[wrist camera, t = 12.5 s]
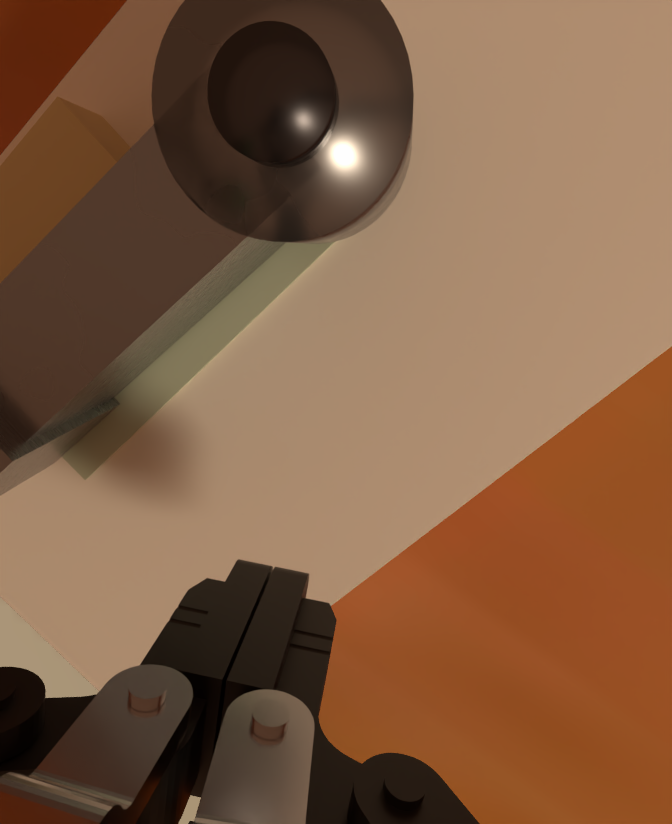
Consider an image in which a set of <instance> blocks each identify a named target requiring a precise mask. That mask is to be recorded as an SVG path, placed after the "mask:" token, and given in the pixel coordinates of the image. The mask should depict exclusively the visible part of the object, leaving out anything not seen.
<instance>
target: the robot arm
mask: <svg viewBox="0 0 672 824" xmlns="http://www.w3.org/2000/svg"><path fill="white" fill-rule="evenodd" d="M308 582H309V573H304V572H300V571H295V570H290V569H285V568H280V567H274V569H273V566H269V565H265V564H260V563H255V562H250V561H245V560H240V559H238V560H237V561H236V563H235V565H234V566H233V568H232V570H231V572H230V574H229V575H228V577H227V579H226V581H225V582H224V581H219V580H215V579H210V578H206V579H205V580H203V581H201V582H200V583H198V584H196V585H195V586H193V587H192V588H190V589H188V591H187V592H186V594H185V596H184V597H183V599H182V600H181V602H180V603H179V605H178V608H176V610H175V611H174V613H173V614H172V616H171V617H170V620H169V622H167V624H166V625H165V627H164V628H163V630H162V631H161V633H160V634H159V636H158V638H157V639H156V641H155V642H154V644H153V645H152V647H151V648H150V650H149V652H148V653H147V655H146V656H145V658H144V659H143V661H142V662H141V664H140V666H135V667H131V668H128V669H126V670H123V671H121V672H119V673H118V674H116V675H115V676H113V677H112V678H111V679H110V680H109V681H108V682H107V683H106V684H105V685H104V687H103V688H102V689H101V690H100V691H99V693H98V694H97V695H91V696H85V697H64V698H45V685H44V683H43V681H42V680H41V679H40V678H39V676H37V675H36V674H35V673H33V672H31V671H29V670H26V669H22V668H16V667H0V824H178V822H179V820H180V819H181V816H182V814H183V812H184V809H185V807H186V804H187V802H188V799H189V797H190V795H193V796H197V797H201V800H200V803H199V807H198V810H197V814H196V817H195V820H194V822H193V821H190V822H189V823H188V824H479V823H478V821H477V820H476V819H475V818H474V817H473V815H472V814H471V813H470V812H469V811H468V809H467V808H466V807H465V806H464V805H463V803H462V802H461V801H460V800H459V799H458V797H457V796H456V795H455V794H454V793H453V791H452V790H451V789H450V788H449V787H448V785H447V784H446V783H445V782H444V781H443V779H442V778H441V777H440V776H439V775H438V774H437V773H436V772H435V771H434V770H433V769H432V768H431V767H429V766H428V765H427V764H425V763H423V762H422V761H420V760H418V759H416V758H413V757H411V756H407V755H404V754H398V753H384V754H379V755H376V756H373V757H371V758H369V759H368V760H366V761H365V762H364V763H363V764H361V763H359V762H357V761H355V760H353V759H352V758H350V757H348V756H346V755H345V754H343V753H341V752H340V751H339V750H338V749H336V748H335V747H334V746H333V745H332V744H331V743H330V742H329V741H328V739H327V738H326V737H325V735H324V733H323V731H322V729H321V727H320V724H319V718H318V716H319V711H320V706H321V701H322V696H323V690H324V685H325V680H326V675H327V669H328V664H329V658H330V653H331V647H332V642H333V636H334V631H335V625H336V618H335V616H334V613H333V611H332V608H331V606H330V604H329V603H327V602H322V601H317V600H312V599H307V598H306V594H307V588H308Z"/></svg>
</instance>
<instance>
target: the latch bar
mask: <svg viewBox="0 0 672 824" xmlns="http://www.w3.org/2000/svg"><path fill="white" fill-rule="evenodd" d="M151 97H152V115H153V121H154V124H153V125H152V126H151V128H150V129H149V130H148V131H147V132H146V133H145V134H144V135H143V136H142V137H141V138H140V139H139V140H138V141H137V142H136V143H135V144H134V145H133V146H132V147H131V148H130V149H129V150H128V151H127V152H126V153H125V154H124V156H123V157H122V158H121V159H120V160H119V161H118V162H117V163H116V164H115V165H114V166H113V167H112V168H111V169H110V170H109V171H108V172H107V173H106V174H105V175H104V176H103V177H102V178H101V179H100V180H99V181H98V182H97V184H96V185H95V186H94V187H93V188H92V189H91V190H90V191H89V192H88V193H87V194H86V195H85V196H84V197H83V198H82V199H81V200H80V201H79V202H78V203H77V204H76V205H75V206H74V207H73V208H72V209H71V210H70V212H69V213H68V214H67V215H66V216H65V217H64V218H63V219H62V220H61V221H60V222H59V223H58V224H57V225H56V226H55V227H54V228H53V229H52V230H51V231H50V232H49V233H48V234H47V235H46V236H45V237H44V238H43V240H42V241H41V242H40V243H39V244H38V245H37V246H36V247H35V248H34V249H33V250H32V251H31V252H30V253H29V254H28V255H27V256H26V257H25V258H24V259H23V260H22V261H21V262H20V263H19V264H18V265H17V266H16V268H15V269H14V270H13V271H12V272H11V273H10V274H9V275H8V276H7V277H6V278H5V279H4V280H3V281H2V282H1V283H0V496H1V495H2V494H4V493H6V492H7V491H9V490H11V489H12V488H14V487H16V486H17V485H19V484H21V483H22V482H24V481H26V480H27V479H29V478H31V477H32V476H34V475H36V474H37V473H39V472H41V471H42V470H44V469H46V468H47V467H49V466H51V465H52V464H54V463H55V462H56V461H57V460H58V459H60V458H61V457H62V456H63V455H64V454H65V453H66V452H67V451H68V450H70V449H71V448H72V447H73V446H74V445H75V444H76V443H77V442H79V441H80V440H81V439H82V438H83V437H84V436H85V435H86V434H87V433H89V432H90V431H91V430H92V429H93V428H94V427H95V426H96V425H97V424H99V423H100V422H101V421H102V420H103V419H104V418H105V417H106V416H107V415H109V414H110V413H111V412H112V411H113V410H114V409H115V408H116V407H118V406H119V405H120V403H119V402H118V401H117V400H116V398H115V397H116V396H117V395H118V394H119V393H120V392H121V391H122V390H123V389H125V388H126V387H127V386H128V385H129V384H130V383H131V382H132V381H133V380H134V379H136V378H137V377H138V376H139V375H140V374H141V373H142V372H143V371H144V370H146V369H147V368H148V367H149V366H150V365H151V364H152V363H153V362H154V361H156V360H157V359H158V358H159V357H160V356H161V355H162V354H163V353H164V352H165V351H167V350H168V349H169V348H170V347H171V346H172V345H173V344H174V343H175V342H177V341H178V340H179V339H180V338H181V337H182V336H183V335H184V334H185V333H186V332H188V331H189V330H190V329H191V328H192V327H193V326H194V325H195V324H196V323H198V322H199V321H200V320H201V319H202V318H203V317H204V316H205V315H206V314H208V313H209V312H210V311H211V310H212V309H213V308H214V307H215V306H216V305H217V304H219V303H220V302H221V301H222V300H223V299H224V298H225V297H226V296H227V295H229V294H230V293H231V292H232V291H233V290H234V289H235V288H236V287H237V286H238V285H240V284H241V283H242V282H243V281H244V280H245V279H246V278H247V277H248V276H250V275H251V274H252V273H253V272H254V271H255V270H256V269H257V268H258V267H260V266H261V265H262V264H263V263H264V262H265V261H266V260H267V259H268V258H269V257H271V256H272V255H273V254H274V253H275V252H276V251H277V250H278V249H279V248H281V247H282V246H283V245H284V244H285V243H286V242H288V243H304V244H323V243H331V242H335V241H339V240H343V239H345V238H348V237H350V236H353V235H355V234H357V233H359V232H360V231H362V230H364V229H366V228H367V227H368V226H370V225H371V224H372V223H373V222H375V221H376V220H377V219H378V218H379V217H380V216H381V215H382V214H383V213H384V212H385V211H386V210H387V208H388V207H389V206H390V204H391V203H392V202H393V200H394V199H395V197H396V195H397V194H398V192H399V190H400V188H401V186H402V184H403V181H404V179H405V177H406V173H407V170H408V167H409V163H410V157H411V151H412V129H413V99H414V92H413V78H412V71H411V66H410V61H409V56H408V53H407V50H406V47H405V44H404V41H403V38H402V35H401V33H400V31H399V29H398V27H397V25H396V23H395V21H394V19H393V17H392V16H391V14H390V13H389V11H388V10H387V8H386V7H385V5H384V4H383V2H382V1H381V0H185V1H184V2H183V3H182V4H181V6H180V7H179V8H178V10H177V12H176V13H175V15H174V16H173V18H172V20H171V21H170V23H169V25H168V27H167V30H166V32H165V34H164V36H163V39H162V41H161V44H160V47H159V51H158V54H157V57H156V61H155V67H154V72H153V79H152V94H151Z"/></svg>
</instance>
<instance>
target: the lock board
mask: <svg viewBox="0 0 672 824" xmlns="http://www.w3.org/2000/svg"><path fill="white" fill-rule="evenodd" d="M184 1H185V0H127V1H126V2H125V4H124V5H123V6H122V7H121V8H120V10H119V11H118V12H117V13H116V15H115V16H114V17H113V18H112V19H111V21H110V22H109V23H108V24H107V26H106V27H105V28H104V29H103V30H102V32H101V33H100V34H99V35H98V37H97V38H96V39H95V40H94V41H93V43H92V44H91V45H90V46H89V48H88V49H87V50H86V51H85V52H84V54H83V55H82V56H81V57H80V59H79V60H78V61H77V62H76V63H75V65H74V66H73V67H72V68H71V69H70V71H69V72H68V73H67V74H66V76H65V77H64V78H63V79H62V80H61V82H60V83H59V84H58V85H57V87H56V88H55V89H54V90H53V91H52V93H51V94H50V95H49V96H48V98H47V99H46V100H45V101H44V102H43V104H42V105H41V106H40V107H39V109H38V110H37V111H36V112H35V113H34V115H33V116H32V117H31V118H30V120H29V121H28V122H27V123H26V124H25V126H24V127H23V128H22V129H21V131H20V132H19V133H18V134H17V135H16V137H15V138H14V139H13V140H12V142H11V143H10V144H9V145H8V146H7V148H6V149H5V150H4V151H3V153H2V154H1V155H0V283H1V282H2V281H3V280H4V279H5V278H6V277H7V276H8V275H9V274H10V273H11V272H12V271H13V270H14V269H15V268H16V266H17V265H18V264H19V263H20V262H21V261H22V260H23V259H24V258H25V257H26V256H27V255H28V254H29V253H30V252H31V251H32V250H33V249H34V248H35V247H36V246H37V245H38V244H39V243H40V242H41V241H42V240H43V238H44V237H45V236H46V235H47V234H48V233H49V232H50V231H51V230H52V229H53V228H54V227H55V226H56V225H57V224H58V223H59V222H60V221H61V220H62V219H63V218H64V217H65V216H66V215H67V214H68V213H69V212H70V210H71V209H72V208H73V207H74V206H75V205H76V204H77V203H78V202H79V201H80V200H81V199H82V198H83V197H84V196H85V195H86V194H87V193H88V192H89V191H90V190H91V189H92V188H93V187H94V186H95V185H96V184H97V182H98V181H99V180H100V179H101V178H102V177H103V176H104V175H105V174H106V173H107V172H108V171H109V170H110V169H111V168H112V167H113V166H114V165H115V164H116V163H117V162H118V161H119V160H120V159H121V158H122V157H123V156H124V154H125V153H126V152H127V151H128V150H129V149H130V148H131V147H132V146H133V145H134V144H135V143H136V142H137V141H138V140H139V139H140V138H141V137H142V136H143V135H144V134H145V133H146V132H147V131H148V130H149V129H150V128H151V126H152V125H153V124H154V121H153V115H152V97H151V94H152V79H153V72H154V67H155V61H156V57H157V54H158V51H159V47H160V44H161V41H162V39H163V36H164V34H165V32H166V30H167V27H168V25H169V23H170V21H171V20H172V18H173V16H174V15H175V13H176V12H177V10H178V8H179V7H180V6H181V4H182V3H183V2H184ZM381 1H382V2H383V4H384V5H385V7H386V8H387V10H388V11H389V13H390V14H391V16H392V17H393V19H394V21H395V23H396V25H397V27H398V29H399V31H400V33H401V35H402V38H403V41H404V44H405V47H406V50H407V53H408V56H409V61H410V66H411V71H412V78H413V92H414V99H413V129H412V151H411V157H410V163H409V167H408V170H407V173H406V177H405V179H404V181H403V184H402V186H401V188H400V190H399V192H398V194H397V195H396V197H395V199H394V200H393V202H392V203H391V204H390V206H389V207H388V208H387V210H386V211H385V212H384V213H383V214H382V215H381V216H380V217H379V218H378V219H377V220H376V221H375V222H373V223H372V224H371V225H370V226H368V227H367V228H366V229H364V230H362V231H360V232H359V233H357V234H355V235H353V236H350V237H348V238H345V239H343V240H339V241H335V242H331V243H323V244H304V243H288V242H286V243H285V244H284V245H283V246H282V247H281V248H279V249H278V250H277V251H276V252H275V253H274V254H273V255H272V256H271V257H269V258H268V259H267V260H266V261H265V262H264V263H263V264H262V265H261V266H260V267H258V268H257V269H256V270H255V271H254V272H253V273H252V274H251V275H250V276H248V277H247V278H246V279H245V280H244V281H243V282H242V283H241V284H240V285H238V286H237V287H236V288H235V289H234V290H233V291H232V292H231V293H230V294H229V295H227V296H226V297H225V298H224V299H223V300H222V301H221V302H220V303H219V304H217V305H216V306H215V307H214V308H213V309H212V310H211V311H210V312H209V313H208V314H206V315H205V316H204V317H203V318H202V319H201V320H200V321H199V322H198V323H196V324H195V325H194V326H193V327H192V328H191V329H190V330H189V331H188V332H186V333H185V334H184V335H183V336H182V337H181V338H180V339H179V340H178V341H177V342H175V343H174V344H173V345H172V346H171V347H170V348H169V349H168V350H167V351H165V352H164V353H163V354H162V355H161V356H160V357H159V358H158V359H157V360H156V361H154V362H153V363H152V364H151V365H150V366H149V367H148V368H147V369H146V370H144V371H143V372H142V373H141V374H140V375H139V376H138V377H137V378H136V379H134V380H133V381H132V382H131V383H130V384H129V385H128V386H127V387H126V388H125V389H123V390H122V391H121V392H120V393H119V394H118V395H117V396H116V397H115V398H116V400H117V401H118V402H119V403H120V405H119V406H118V407H116V408H115V409H114V410H113V411H112V412H111V413H110V414H109V415H107V416H106V417H105V418H104V419H103V420H102V421H101V422H100V423H99V424H97V425H96V426H95V427H94V428H93V429H92V430H91V431H90V432H89V433H87V434H86V435H85V436H84V437H83V438H82V439H81V440H80V441H79V442H77V443H76V444H75V445H74V446H73V447H72V448H71V449H70V450H68V451H67V452H66V453H65V454H64V455H63V456H62V457H61V458H60V459H58V460H57V461H56V462H55V463H54V464H52V465H51V466H49V467H47V468H46V469H44V470H42V471H41V472H39V473H37V474H36V475H34V476H32V477H31V478H29V479H27V480H26V481H24V482H22V483H21V484H19V485H17V486H16V487H14V488H12V489H11V490H9V491H7V492H6V493H4V494H2V495H1V496H0V597H1V598H2V599H3V600H4V601H5V602H6V603H7V604H8V605H9V606H10V607H11V608H12V609H14V610H15V611H16V612H17V613H18V614H19V615H20V616H21V617H22V618H23V619H24V620H25V621H26V622H27V623H28V624H29V625H30V626H31V627H32V628H33V629H34V630H35V631H36V632H37V633H39V634H40V635H41V636H42V637H43V638H44V639H45V640H46V641H47V642H48V643H49V644H50V645H51V646H52V647H53V648H54V649H55V650H56V651H57V652H58V653H59V654H60V655H62V656H63V657H64V658H65V659H66V660H67V661H68V662H69V663H70V664H71V665H72V666H73V667H74V668H75V669H76V670H77V671H78V672H79V673H80V674H81V675H82V676H83V677H84V678H85V679H87V680H88V681H89V682H90V683H91V684H92V685H93V686H94V687H95V688H96V689H97V690H98V691H100V690H101V689H102V688H103V687H104V685H105V684H106V683H107V682H108V681H109V680H110V679H111V678H112V677H113V676H115V675H116V674H118V673H119V672H121V671H123V670H126V669H128V668H131V667H135V666H140V664H141V662H142V661H143V659H144V658H145V656H146V655H147V653H148V652H149V650H150V648H151V647H152V645H153V644H154V642H155V641H156V639H157V638H158V636H159V634H160V633H161V631H162V630H163V628H164V627H165V625H166V624H167V622H169V620H170V617H171V616H172V614H173V613H174V611H175V610H176V608H178V605H179V603H180V602H181V600H182V599H183V597H184V596H185V594H186V592H187V591H188V589H190V588H192V587H193V586H195V585H196V584H198V583H200V582H201V581H203V580H205V579H206V578H210V579H215V580H219V581H224V582H225V581H226V579H227V577H228V575H229V574H230V572H231V570H232V568H233V566H234V565H235V563H236V561H237V560H238V559H240V560H245V561H250V562H255V563H260V564H265V565H269V566H273V569H274V567H280V568H285V569H290V570H295V571H300V572H304V573H309V582H308V588H307V594H306V598H307V599H312V600H317V601H322V602H327V603H329V604H330V606H331V605H333V604H334V603H335V602H337V601H338V600H339V599H341V598H342V597H343V596H344V595H346V594H347V593H348V592H350V591H351V590H352V589H354V588H355V587H356V586H358V585H359V584H360V583H362V582H363V581H364V580H365V579H367V578H368V577H369V576H371V575H372V574H373V573H375V572H376V571H377V570H379V569H380V568H381V567H383V566H384V565H385V564H386V563H388V562H389V561H390V560H392V559H393V558H394V557H396V556H397V555H398V554H400V553H401V552H402V551H403V550H405V549H406V548H407V547H409V546H410V545H411V544H413V543H414V542H415V541H417V540H418V539H419V538H421V537H422V536H423V535H424V534H426V533H427V532H428V531H430V530H431V529H432V528H434V527H435V526H436V525H438V524H439V523H440V522H442V521H443V520H444V519H445V518H447V517H448V516H449V515H451V514H452V513H453V512H455V511H456V510H457V509H459V508H460V507H461V506H463V505H464V504H465V503H466V502H468V501H469V500H470V499H472V498H473V497H474V496H476V495H477V494H478V493H480V492H481V491H482V490H483V489H485V488H486V487H487V486H489V485H490V484H491V483H493V482H494V481H495V480H497V479H498V478H499V477H501V476H502V475H503V474H504V473H506V472H507V471H508V470H510V469H511V468H512V467H514V466H515V465H516V464H518V463H519V462H520V461H522V460H523V459H524V458H525V457H527V456H528V455H529V454H531V453H532V452H533V451H535V450H536V449H537V448H539V447H540V446H541V445H542V444H544V443H545V442H546V441H548V440H549V439H550V438H552V437H553V436H554V435H556V434H557V433H558V432H560V431H561V430H562V429H563V428H565V427H566V426H567V425H569V424H570V423H571V422H573V421H574V420H575V419H577V418H578V417H579V416H581V415H582V414H583V413H584V412H586V411H587V410H588V409H590V408H591V407H592V406H594V405H595V404H596V403H598V402H599V401H600V400H602V399H603V398H604V397H605V396H607V395H608V394H609V393H611V392H612V391H613V390H615V389H616V388H617V387H619V386H620V385H621V384H622V383H624V382H625V381H626V380H628V379H629V378H630V377H632V376H633V375H634V374H636V373H637V372H638V371H640V370H641V369H642V368H643V367H645V366H646V365H647V364H649V363H650V362H651V361H653V360H654V359H655V358H657V357H658V356H659V355H661V354H662V353H663V352H664V351H666V350H667V349H668V348H670V347H671V346H672V0H381Z"/></svg>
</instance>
